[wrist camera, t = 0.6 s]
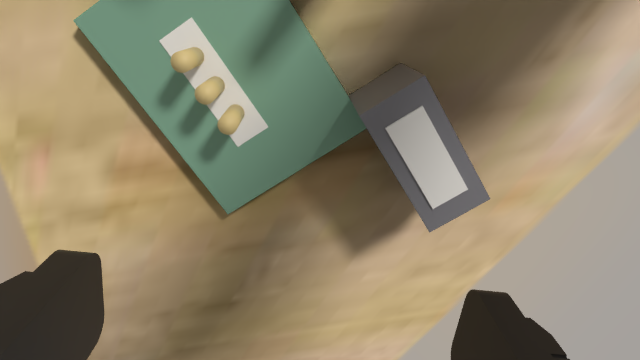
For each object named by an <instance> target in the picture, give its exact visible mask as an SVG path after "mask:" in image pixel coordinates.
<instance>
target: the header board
mask: <svg viewBox="0 0 640 360" xmlns="http://www.w3.org/2000/svg"><path fill="white" fill-rule="evenodd" d="M73 21H74V22H75V23H76V25H77V26H78V27H79V28H80V30H81V31H82V32H83V33H84V35H85V36H86V37H87V38H88V40H89V41H90V42H91V43H92V45H93V46H94V47H95V48H96V50H97V51H98V52H99V53H100V55H101V56H102V57H103V58H104V60H105V61H106V62H107V63H108V65H109V66H110V67H111V69H112V70H113V71H114V72H115V74H116V75H117V76H118V77H119V79H120V80H121V81H122V82H123V84H124V85H125V86H126V87H127V89H128V90H129V91H130V92H131V94H132V95H133V96H134V97H135V99H136V100H137V101H138V102H139V104H140V105H141V106H142V107H143V109H144V110H145V111H146V112H147V114H148V115H149V116H150V117H151V119H152V120H153V121H154V122H155V124H156V125H157V126H158V127H159V129H160V130H161V131H162V132H163V134H164V135H165V136H166V137H167V139H168V140H169V141H170V142H171V144H172V145H173V146H174V147H175V149H176V150H177V151H178V152H179V154H180V155H181V156H182V157H183V159H184V160H185V161H186V162H187V164H188V165H189V166H190V167H191V169H192V170H193V171H194V172H195V174H196V175H197V176H198V178H199V179H200V180H201V181H202V183H203V184H204V185H205V186H206V188H207V189H208V190H209V191H210V193H211V194H212V195H213V196H214V198H215V199H216V200H217V201H218V203H219V204H220V205H221V206H222V208H223V209H224V210H225V211H226V213H227V214H229V213H231V212H233V211H234V210H236V209H238V208H239V207H241V206H242V205H244V204H246V203H247V202H249V201H250V200H252V199H254V198H255V197H257V196H259V195H260V194H262V193H263V192H265V191H267V190H268V189H270V188H271V187H273V186H275V185H276V184H278V183H280V182H281V181H283V180H284V179H286V178H288V177H289V176H291V175H292V174H294V173H296V172H297V171H299V170H301V169H302V168H304V167H305V166H307V165H309V164H310V163H312V162H313V161H315V160H317V159H318V158H320V157H321V156H323V155H325V154H326V153H328V152H330V151H331V150H333V149H334V148H336V147H338V146H339V145H341V144H342V143H344V142H346V141H347V140H349V139H351V138H352V137H354V136H355V135H357V134H359V133H360V132H362V131H363V130H365V129H367V128H366V126H365V125H364V123H363V121H362V120H361V118H360V117H359V115H358V113H357V111H356V109H355V107H354V105H353V103H352V102H351V100H350V98H349V97H348V95H347V93H346V92H345V90H344V88H343V87H342V85H341V84H340V82H339V80H338V79H337V77H336V75H335V74H334V72H333V71H332V69H331V67H330V66H329V64H328V62H327V61H326V59H325V58H324V56H323V54H322V53H321V51H320V49H319V48H318V46H317V45H316V43H315V41H314V40H313V38H312V36H311V35H310V33H309V32H308V30H307V28H306V27H305V25H304V23H303V22H302V20H301V19H300V17H299V15H298V14H297V12H296V10H295V9H294V7H293V6H292V4H291V2H290V1H289V0H99V1H98V2H97V3H96V4H94V5H93V6H92V7H90V8H89V9H88V10H86V11H85V12H84V13H82V14H81V15H80V16H79V17H77V18H76V19H75V20H73Z"/></svg>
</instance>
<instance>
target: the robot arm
mask: <svg viewBox="0 0 640 360" xmlns="http://www.w3.org/2000/svg"><path fill="white" fill-rule="evenodd" d="M103 322H104V301H103V285H102V269H101V260H100V257H99V255H98V254H97V253H88V252H78V251H67V250H57V251H55V252H54V253H53V254H51V255H50V256H49V257H48V258H47V259H46V260H45V261H44V262H43V263H42V264H41V265H40V266H39V267H38V268H37V269H36V270H35V271H34V272H26V271H25V272H23V273H21V274H19V275H17V276H15V277H13V278H11V279H9V280H7V281H5V282H4V283H1V284H0V360H87V358H88V357H89V355H90V353H91V352H92V350H93V349H94V347H95V345H96V344H97V342H98V340H99V337H100V334H101V331H102V328H103ZM451 360H570V359H567V358H566V354H565V352H564V351H563V350H562V348H561V347H560V345H559V344H558V343H557V341H556V340H555V339H554V338H553V336H552V335H551V334H550V333H548V332H547V331H546V330H545V329H543V328H542V327H541V326H540V325H538V324H537V323H536V322H535V321H534V320H532V319H531V318H525V317H524V315H523V314H522V313H521V311H520V310H519V308H518V307H517V305H516V304H515V303H514V301H513V300H512V298H511V297H510V296H509V295H508V294H507V293H504V292H493V291H483V290H470V291H469V292H468V294H467V296H466V298H465V301H464V305H463V308H462V312H461V315H460V319H459V322H458V326H457V329H456V332H455V336H454V340H453V343H452V348H451Z"/></svg>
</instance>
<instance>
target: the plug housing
mask: <svg viewBox="0 0 640 360" xmlns="http://www.w3.org/2000/svg"><path fill="white" fill-rule="evenodd" d="M349 98H350V100H351V102H352V103H353V105H354V107H355V109H356V111H357V113H358V115H359V117H360V118H361V120H362V121H363V123H364V125H365V126H366V128H367V130H368V131H369V133H370V135H371V136H372V138H373V140H374V141H375V143H376V145H377V146H378V148H379V150H380V151H381V153H382V155H383V156H384V158H385V160H386V161H387V163H388V164H389V166H390V168H391V169H392V171H393V173H394V174H395V176H396V178H397V179H398V181H399V183H400V184H401V186H402V188H403V189H404V191H405V193H406V194H407V196H408V198H409V199H410V201H411V203H412V204H413V206H414V207H415V209H416V211H417V212H418V214H419V216H420V217H421V219H422V221H423V222H424V224H425V226H426V227H427V229H428V231H429V232H431V231H433V230H435V229H437V228H438V227H440V226H442V225H444V224H446V223H448V222H449V221H451V220H453V219H455V218H457V217H458V216H460V215H462V214H464V213H466V212H468V211H469V210H471V209H473V208H475V207H477V206H478V205H480V204H482V203H484V202H486V201H488V200H489V199H490V197H489V195H488V194H487V192H486V190H485V188H484V186H483V184H482V182H481V180H480V178H479V177H478V175H477V173H476V171H475V169H474V167H473V165H472V163H471V161H470V160H469V158H468V156H467V154H466V152H465V150H464V148H463V146H462V144H461V143H460V141H459V139H458V137H457V135H456V133H455V131H454V129H453V127H452V126H451V124H450V122H449V120H448V118H447V116H446V114H445V112H444V110H443V109H442V107H441V105H440V103H439V101H438V99H437V97H436V95H435V93H434V92H433V90H432V88H431V86H430V84H429V82H428V80H427V78H426V76H425V75H423V74H421V73H420V72H418V71H416V70H414V69H412V68H410V67H408V66H406V65H404V64H402V63H400V64H398V65H396V66H395V67H393V68H392V69H390V70H388V71H387V72H385V73H384V74H382V75H380V76H379V77H377V78H376V79H374V80H372V81H371V82H369V83H368V84H366V85H364V86H363V87H361V88H360V89H358V90H357V91H355V92H353V93H352V94H350V95H349Z"/></svg>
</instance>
